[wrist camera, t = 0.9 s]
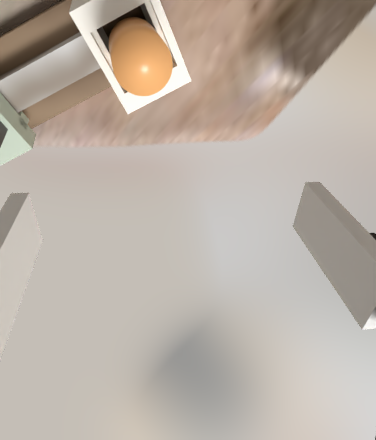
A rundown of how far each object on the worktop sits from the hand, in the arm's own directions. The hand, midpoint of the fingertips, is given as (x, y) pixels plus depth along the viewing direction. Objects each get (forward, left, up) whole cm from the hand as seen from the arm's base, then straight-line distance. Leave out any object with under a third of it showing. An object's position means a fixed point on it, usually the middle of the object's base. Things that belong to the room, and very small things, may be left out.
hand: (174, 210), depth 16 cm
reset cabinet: (-3, +2, -23) cm, 24 cm away
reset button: (-3, +2, -16) cm, 16 cm away
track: (-3, -6, -25) cm, 26 cm away
